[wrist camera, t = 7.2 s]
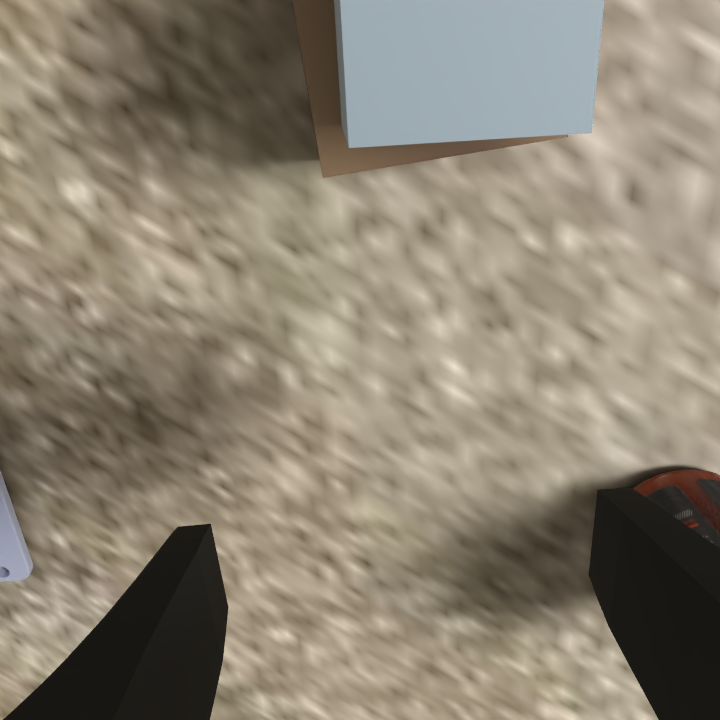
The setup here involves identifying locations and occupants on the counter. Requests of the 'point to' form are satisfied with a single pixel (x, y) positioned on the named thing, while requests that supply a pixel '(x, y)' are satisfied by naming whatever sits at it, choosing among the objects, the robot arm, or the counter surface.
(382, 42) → the blue block
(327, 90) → the walnut base
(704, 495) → the supplement bottle
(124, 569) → the counter surface
